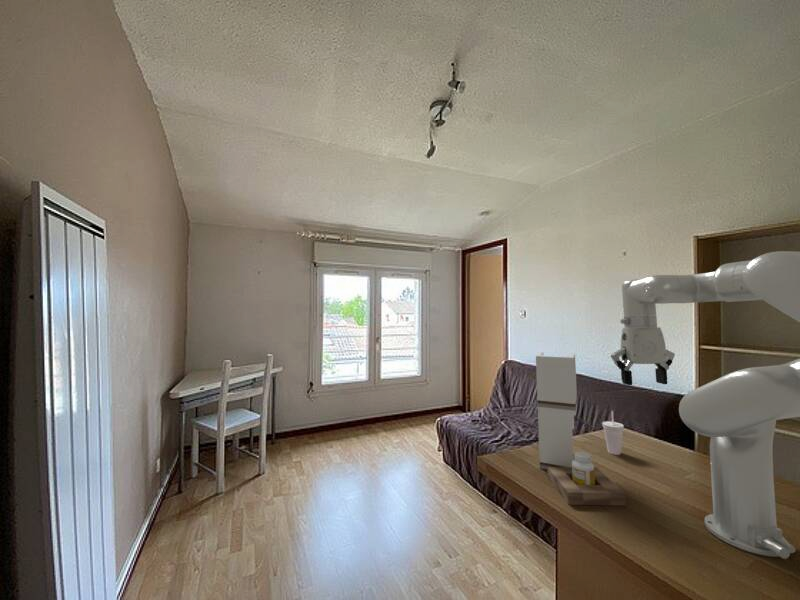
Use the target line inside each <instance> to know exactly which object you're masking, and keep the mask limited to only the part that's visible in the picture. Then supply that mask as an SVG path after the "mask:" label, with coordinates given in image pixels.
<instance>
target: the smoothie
mask: <svg viewBox="0 0 800 600" xmlns="http://www.w3.org/2000/svg"><path fill="white" fill-rule="evenodd" d="M610 411H611V412H610V413H611V421H610V420H609V421H607V420H606V421H602V422H601V425H602V427H603V433H604V437H605V443H606V449H607V452H608V453H609V454H611V455H615V456H620V455H621V454H622V444H623V442H622V441H623V435H624V434H623V433H624V430H625V426H624V424H622V423H621V422H620V423H619V422H616V421H615V419H614V411H613V410H610Z"/></svg>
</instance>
